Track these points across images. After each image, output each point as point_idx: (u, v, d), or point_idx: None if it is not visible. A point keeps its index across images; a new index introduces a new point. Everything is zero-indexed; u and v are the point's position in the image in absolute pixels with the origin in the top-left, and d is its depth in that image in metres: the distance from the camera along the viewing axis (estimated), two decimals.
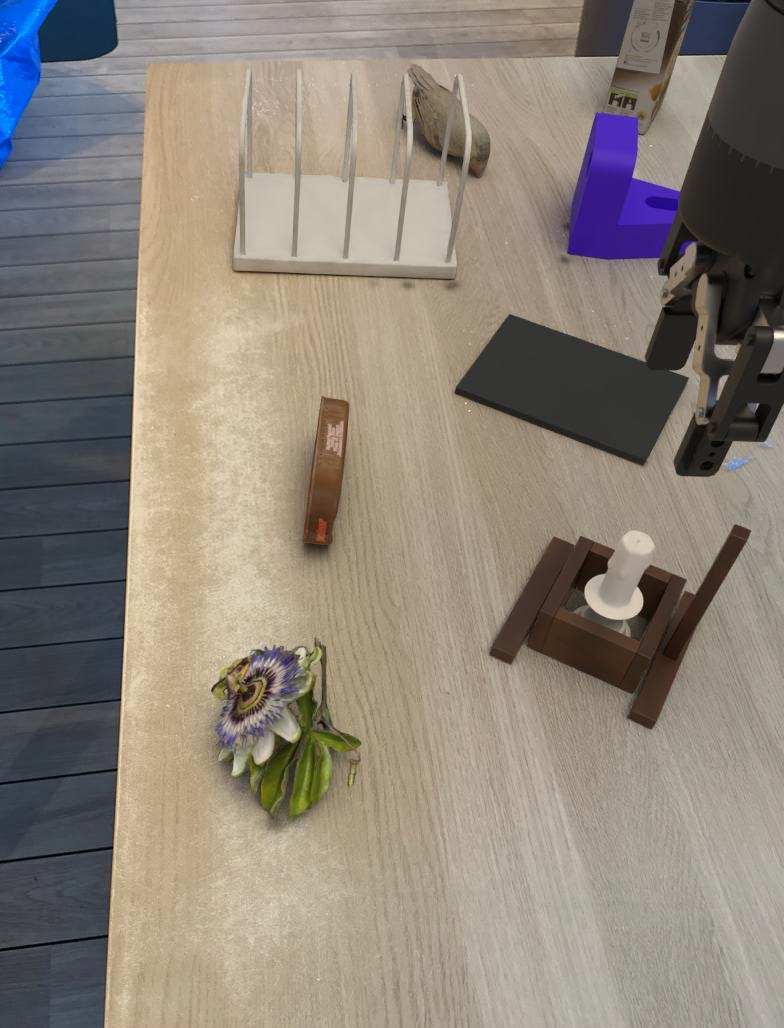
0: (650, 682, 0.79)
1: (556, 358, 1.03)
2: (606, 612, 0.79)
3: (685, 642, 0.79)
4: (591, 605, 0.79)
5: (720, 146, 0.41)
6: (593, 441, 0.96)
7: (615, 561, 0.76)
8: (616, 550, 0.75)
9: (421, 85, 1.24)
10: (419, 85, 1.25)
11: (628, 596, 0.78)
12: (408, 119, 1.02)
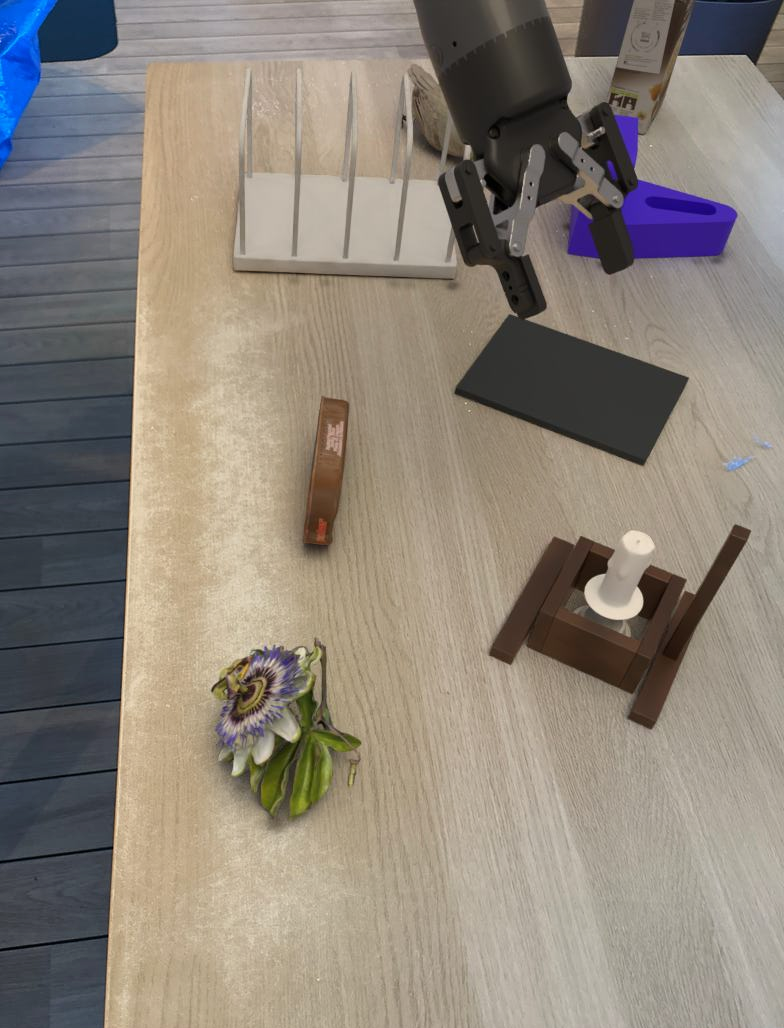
0: (650, 682, 0.79)
1: (556, 358, 1.03)
2: (606, 612, 0.79)
3: (685, 642, 0.79)
4: (591, 605, 0.79)
5: None
6: (593, 441, 0.96)
7: (615, 561, 0.76)
8: (616, 550, 0.75)
9: (421, 85, 1.24)
10: (419, 85, 1.25)
11: (628, 596, 0.78)
12: (408, 119, 1.02)
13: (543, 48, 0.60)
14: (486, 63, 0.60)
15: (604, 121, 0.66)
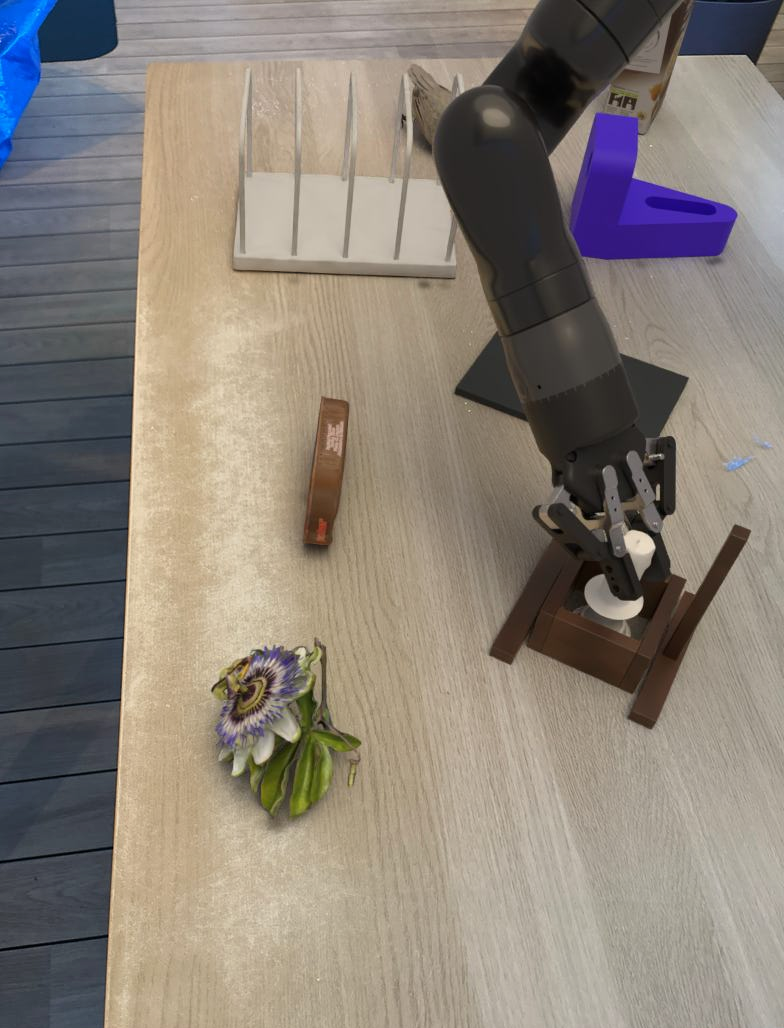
0: (650, 682, 0.79)
1: None
2: (607, 612, 0.79)
3: (685, 642, 0.79)
4: (591, 605, 0.79)
5: None
6: None
7: None
8: None
9: (421, 85, 1.24)
10: (419, 85, 1.25)
11: None
12: (408, 118, 1.02)
13: (616, 393, 0.69)
14: (567, 406, 0.69)
15: (666, 450, 0.75)
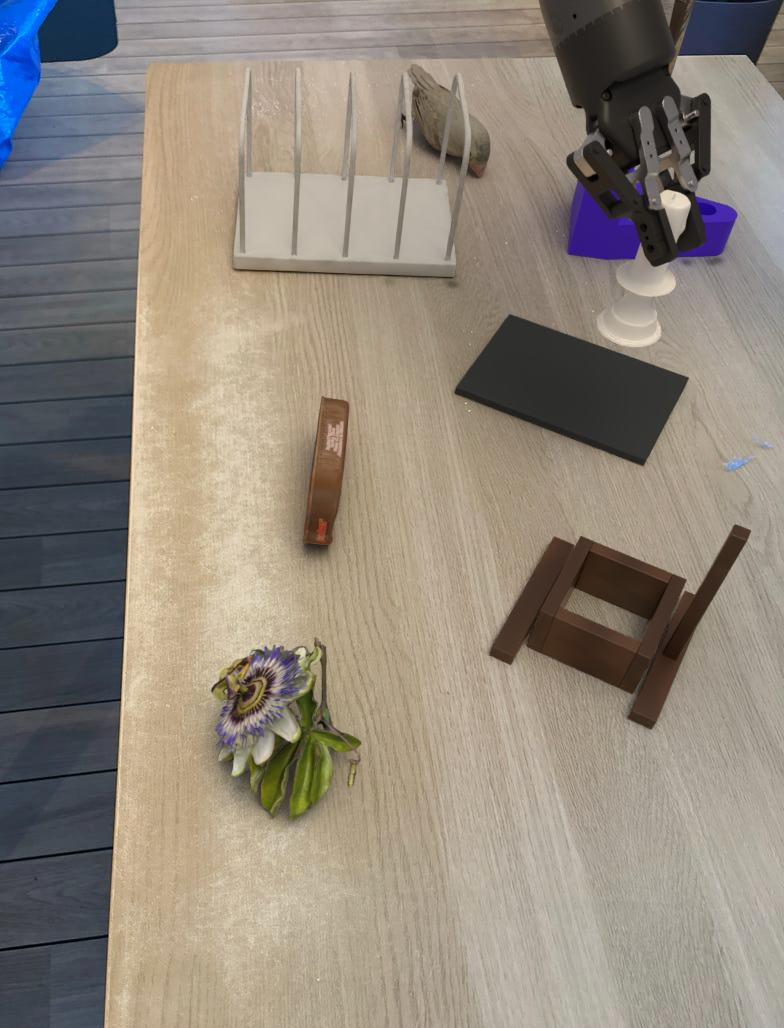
0: (650, 682, 0.79)
1: (556, 358, 1.03)
2: (639, 290, 0.77)
3: (685, 642, 0.79)
4: (623, 284, 0.78)
5: None
6: (593, 441, 0.96)
7: None
8: None
9: (421, 85, 1.24)
10: (419, 85, 1.25)
11: (661, 270, 0.76)
12: (407, 117, 1.02)
13: (653, 20, 0.67)
14: (603, 33, 0.67)
15: (701, 107, 0.73)
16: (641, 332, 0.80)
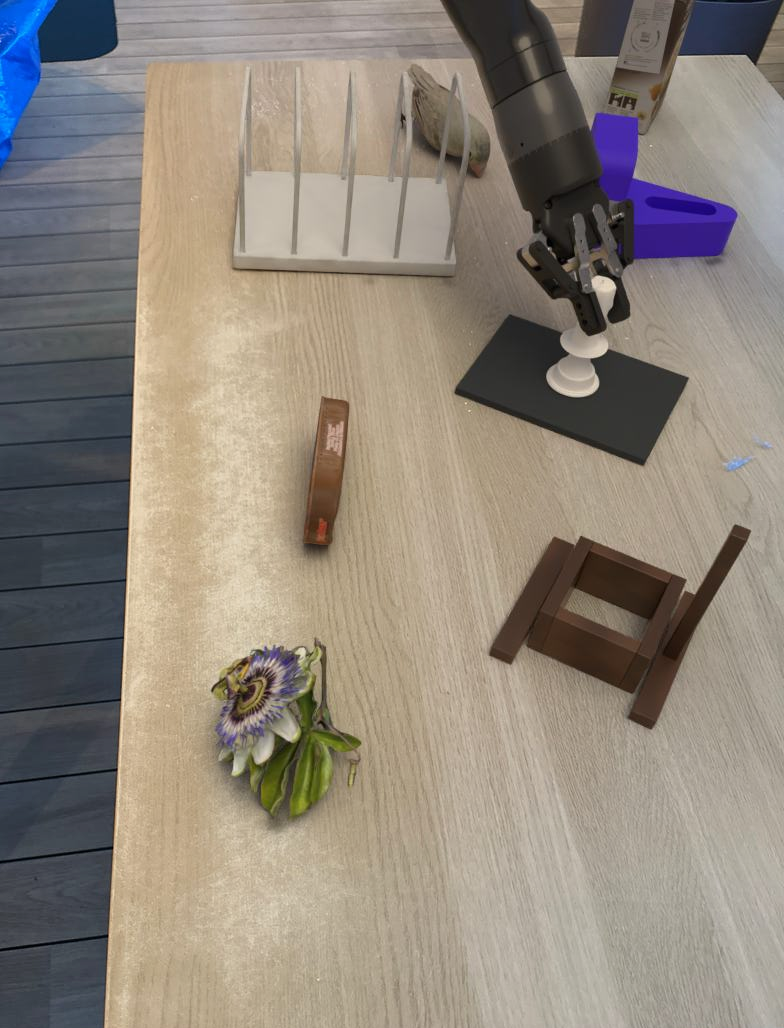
0: (650, 682, 0.79)
1: (556, 358, 1.03)
2: (578, 352, 0.96)
3: (685, 642, 0.79)
4: (565, 347, 0.96)
5: None
6: (593, 441, 0.96)
7: None
8: None
9: (421, 85, 1.24)
10: (419, 85, 1.24)
11: (595, 337, 0.95)
12: (407, 117, 1.02)
13: (583, 148, 0.86)
14: (544, 158, 0.86)
15: (626, 210, 0.92)
16: (581, 385, 0.99)
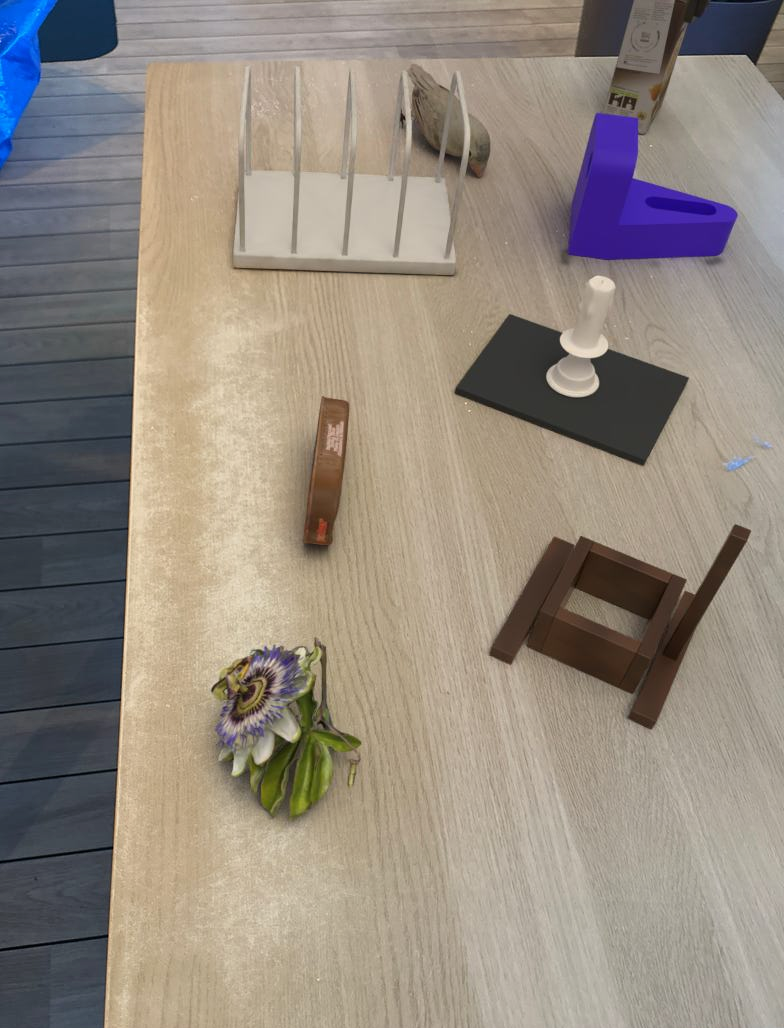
0: (650, 682, 0.79)
1: (556, 358, 1.03)
2: (578, 352, 0.96)
3: (685, 642, 0.79)
4: (565, 347, 0.96)
5: None
6: (593, 441, 0.96)
7: (583, 302, 0.93)
8: (584, 292, 0.93)
9: (421, 85, 1.24)
10: (419, 85, 1.25)
11: (595, 337, 0.95)
12: (407, 116, 1.02)
13: None
14: None
15: None
16: (581, 385, 0.99)
